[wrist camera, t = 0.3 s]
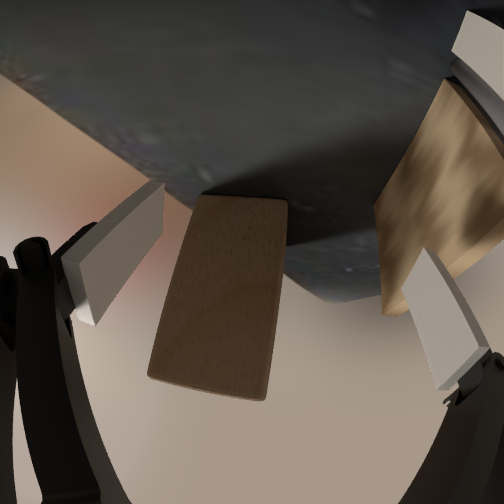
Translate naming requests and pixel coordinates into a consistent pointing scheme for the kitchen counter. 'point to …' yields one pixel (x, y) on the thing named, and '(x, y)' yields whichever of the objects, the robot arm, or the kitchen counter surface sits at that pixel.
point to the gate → (441, 195)
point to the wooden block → (224, 299)
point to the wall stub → (481, 64)
